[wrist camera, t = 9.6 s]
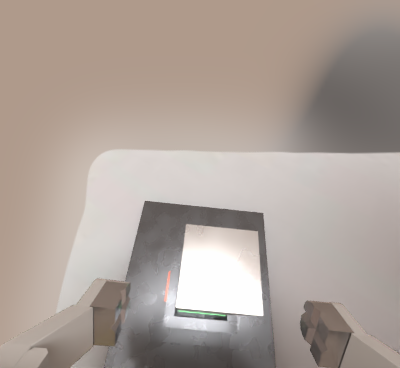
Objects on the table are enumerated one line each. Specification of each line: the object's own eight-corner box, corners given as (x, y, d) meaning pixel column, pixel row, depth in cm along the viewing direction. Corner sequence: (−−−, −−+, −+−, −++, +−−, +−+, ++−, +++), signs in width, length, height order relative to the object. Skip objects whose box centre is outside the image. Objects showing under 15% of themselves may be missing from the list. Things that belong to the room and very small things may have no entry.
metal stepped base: (146, 205, 33) (133, 167, 25) (260, 217, 34) (286, 183, 25) (93, 426, 21) (30, 505, 12) (276, 442, 21) (340, 531, 12)
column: (184, 272, 23) (185, 222, 11) (218, 275, 23) (258, 230, 11) (179, 312, 21) (174, 308, 9) (216, 315, 21) (264, 317, 9)
